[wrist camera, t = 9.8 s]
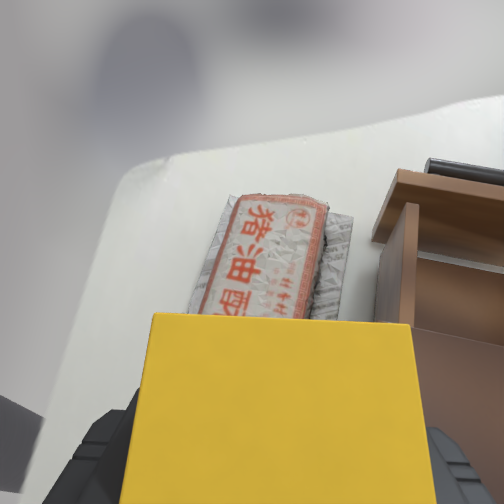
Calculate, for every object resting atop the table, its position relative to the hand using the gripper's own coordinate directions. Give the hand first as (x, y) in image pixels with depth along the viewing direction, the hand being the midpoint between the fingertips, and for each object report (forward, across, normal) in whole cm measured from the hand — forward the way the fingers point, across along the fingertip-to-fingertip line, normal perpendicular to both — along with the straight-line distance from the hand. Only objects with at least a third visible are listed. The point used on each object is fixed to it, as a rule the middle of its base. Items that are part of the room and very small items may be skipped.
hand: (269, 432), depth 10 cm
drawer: (+21, -13, +3) cm, 25 cm away
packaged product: (+21, 0, +5) cm, 21 cm away
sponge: (+3, 0, +5) cm, 6 cm away
